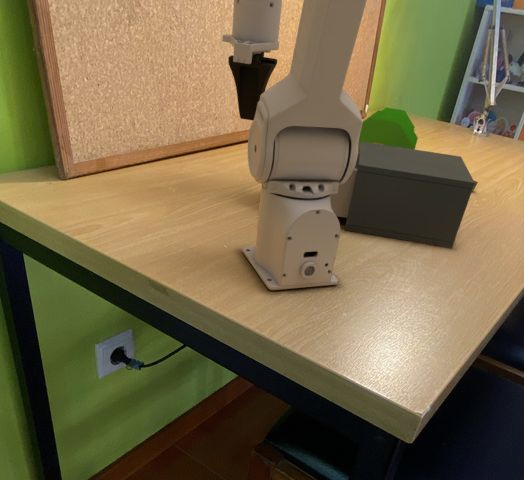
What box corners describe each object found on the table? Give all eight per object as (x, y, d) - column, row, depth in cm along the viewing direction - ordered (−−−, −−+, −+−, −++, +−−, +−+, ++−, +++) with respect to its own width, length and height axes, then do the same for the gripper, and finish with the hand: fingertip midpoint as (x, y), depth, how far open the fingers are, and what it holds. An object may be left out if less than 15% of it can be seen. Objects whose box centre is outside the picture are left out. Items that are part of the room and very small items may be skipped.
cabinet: (344, 230, 67) (358, 164, 62) (348, 200, 77) (360, 141, 72) (452, 248, 66) (475, 182, 61) (441, 215, 75) (461, 156, 70)
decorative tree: (359, 110, 71) (390, 77, 93) (317, 178, 78) (355, 133, 101) (425, 156, 71) (440, 112, 94) (377, 220, 79) (402, 165, 101)
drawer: (253, 206, 68) (258, 154, 64) (267, 182, 77) (272, 135, 73) (383, 228, 66) (396, 176, 62) (382, 201, 75) (393, 154, 71)
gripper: (238, -9, 66) (231, 104, 74) (209, -9, 54) (205, 125, 62) (291, -2, 65) (279, 111, 73) (273, -1, 54) (261, 134, 62)
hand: (248, 118), depth 68 cm, fingers closed
